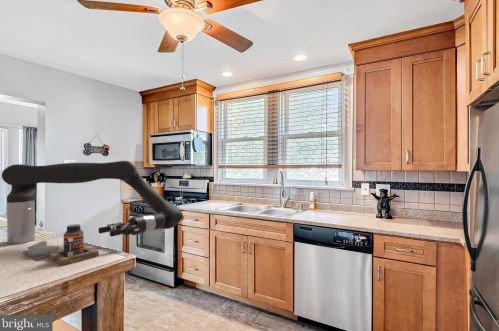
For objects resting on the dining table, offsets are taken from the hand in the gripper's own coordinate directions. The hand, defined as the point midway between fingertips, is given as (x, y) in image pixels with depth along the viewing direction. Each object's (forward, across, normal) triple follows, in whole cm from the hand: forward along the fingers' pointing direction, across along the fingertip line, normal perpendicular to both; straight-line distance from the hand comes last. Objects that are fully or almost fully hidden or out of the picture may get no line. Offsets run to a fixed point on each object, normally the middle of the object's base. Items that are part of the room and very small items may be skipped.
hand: (104, 232), depth 105 cm
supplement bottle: (+11, 0, +7) cm, 13 cm away
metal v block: (+15, -14, +7) cm, 21 cm away
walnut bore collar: (+11, 0, +7) cm, 13 cm away
